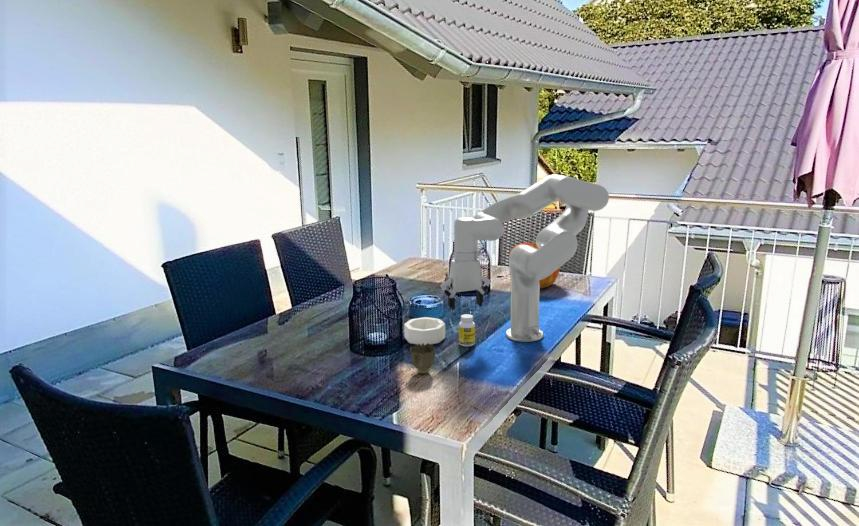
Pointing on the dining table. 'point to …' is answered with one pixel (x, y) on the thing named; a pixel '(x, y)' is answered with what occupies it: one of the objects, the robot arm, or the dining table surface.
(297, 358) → the dining table surface
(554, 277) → the pumpkin
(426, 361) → the cup
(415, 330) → the white round bowl
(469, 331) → the supplement bottle
